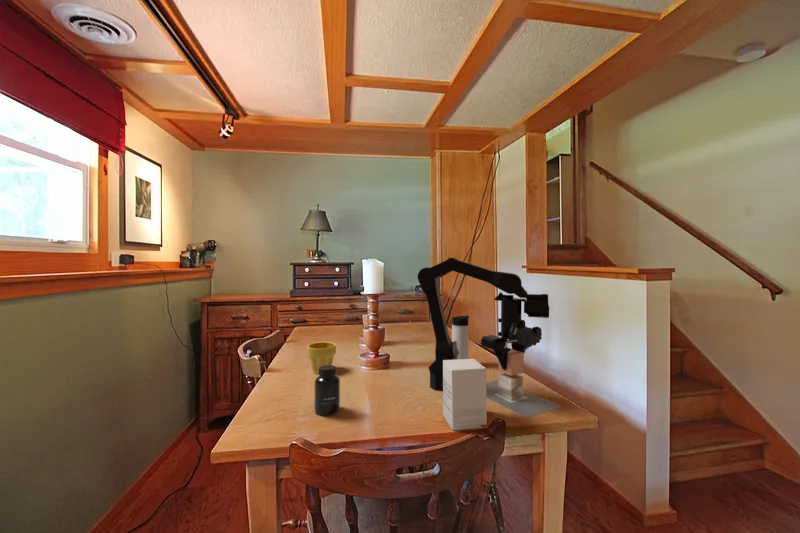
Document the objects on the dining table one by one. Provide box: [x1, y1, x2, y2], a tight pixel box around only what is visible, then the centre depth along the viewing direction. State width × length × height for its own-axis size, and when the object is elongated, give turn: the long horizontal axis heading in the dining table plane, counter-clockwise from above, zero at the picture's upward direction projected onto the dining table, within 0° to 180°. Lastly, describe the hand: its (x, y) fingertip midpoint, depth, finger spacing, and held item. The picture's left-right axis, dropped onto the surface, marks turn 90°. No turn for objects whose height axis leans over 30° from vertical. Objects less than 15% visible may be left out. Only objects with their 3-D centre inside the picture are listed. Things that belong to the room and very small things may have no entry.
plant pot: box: [307, 341, 337, 374], centre depth 127 cm, size 10×10×10 cm
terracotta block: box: [498, 348, 525, 376], centre depth 101 cm, size 5×5×6 cm
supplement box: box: [442, 358, 488, 431], centre depth 87 cm, size 9×9×15 cm
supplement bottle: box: [313, 364, 341, 416], centre depth 93 cm, size 7×7×12 cm
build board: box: [486, 379, 563, 419], centre depth 101 cm, size 14×24×1 cm, turn 29°
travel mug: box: [451, 315, 470, 359], centre depth 131 cm, size 6×7×20 cm
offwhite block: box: [497, 373, 524, 401], centre depth 101 cm, size 5×5×6 cm
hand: (510, 368), depth 101 cm, fingers closed on terracotta block, 5 cm apart
